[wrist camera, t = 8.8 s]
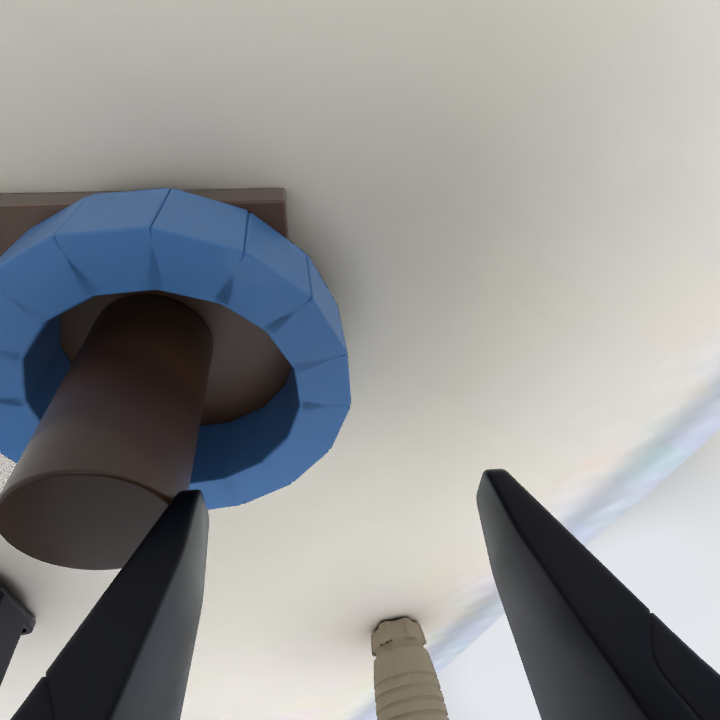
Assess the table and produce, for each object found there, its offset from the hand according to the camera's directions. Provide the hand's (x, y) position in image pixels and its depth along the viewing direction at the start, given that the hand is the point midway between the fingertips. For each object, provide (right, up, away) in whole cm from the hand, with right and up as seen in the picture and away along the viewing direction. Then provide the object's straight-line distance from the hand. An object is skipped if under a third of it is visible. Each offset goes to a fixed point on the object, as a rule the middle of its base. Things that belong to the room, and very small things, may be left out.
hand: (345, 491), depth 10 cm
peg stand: (-6, +4, +5) cm, 8 cm away
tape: (-5, +3, +4) cm, 7 cm away
